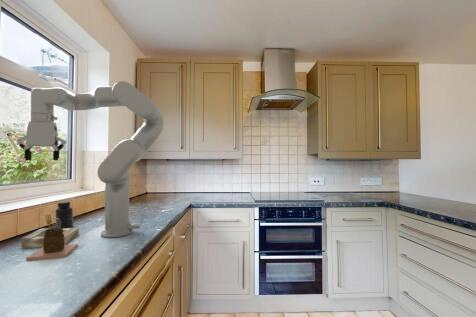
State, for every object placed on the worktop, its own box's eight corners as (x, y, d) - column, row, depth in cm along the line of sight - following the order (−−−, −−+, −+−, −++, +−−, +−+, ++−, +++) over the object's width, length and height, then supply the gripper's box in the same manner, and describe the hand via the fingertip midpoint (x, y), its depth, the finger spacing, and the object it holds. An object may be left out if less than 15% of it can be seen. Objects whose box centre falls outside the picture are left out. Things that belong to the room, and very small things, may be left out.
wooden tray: (78, 234, 111) (78, 226, 111) (64, 244, 97) (64, 235, 98) (41, 237, 108) (41, 228, 108) (21, 248, 94) (21, 238, 94)
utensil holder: (50, 254, 85) (50, 217, 85) (38, 251, 87) (38, 216, 87) (68, 248, 90) (68, 214, 90) (56, 246, 93) (56, 212, 93)
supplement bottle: (70, 225, 128) (69, 200, 128) (75, 227, 124) (75, 202, 124) (53, 228, 123) (53, 202, 123) (58, 230, 118) (58, 204, 118)
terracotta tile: (77, 246, 95) (77, 243, 95) (65, 257, 85) (65, 254, 85) (43, 249, 93) (43, 246, 93) (26, 260, 82) (26, 257, 82)
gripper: (69, 121, 113) (69, 160, 113) (22, 119, 108) (22, 160, 108) (62, 118, 106) (62, 160, 106) (12, 116, 101) (11, 160, 101)
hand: (42, 160), depth 107 cm, fingers open, 9 cm apart
